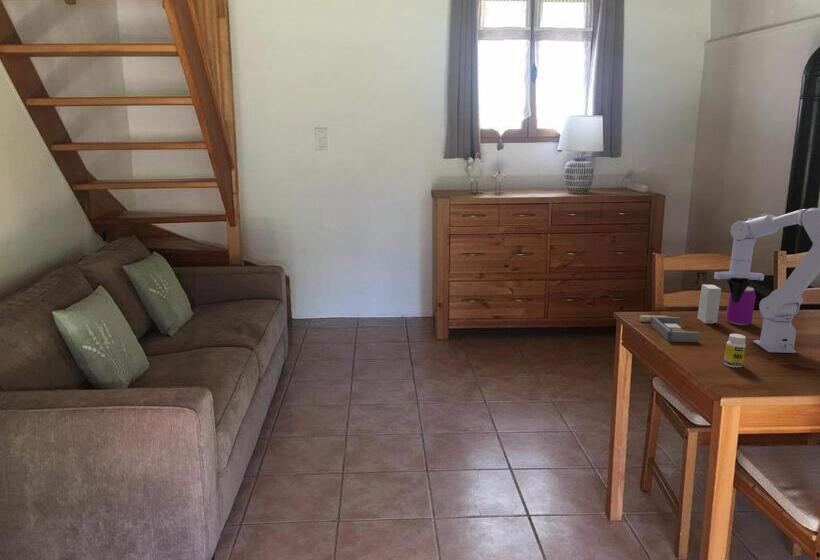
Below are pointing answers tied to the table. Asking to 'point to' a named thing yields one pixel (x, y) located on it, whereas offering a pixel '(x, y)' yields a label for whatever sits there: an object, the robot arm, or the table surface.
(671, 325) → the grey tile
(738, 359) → the supplement bottle
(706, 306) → the skincare box
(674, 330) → the walnut tile
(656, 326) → the box
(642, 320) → the scraper
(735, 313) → the beverage can
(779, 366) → the table surface
